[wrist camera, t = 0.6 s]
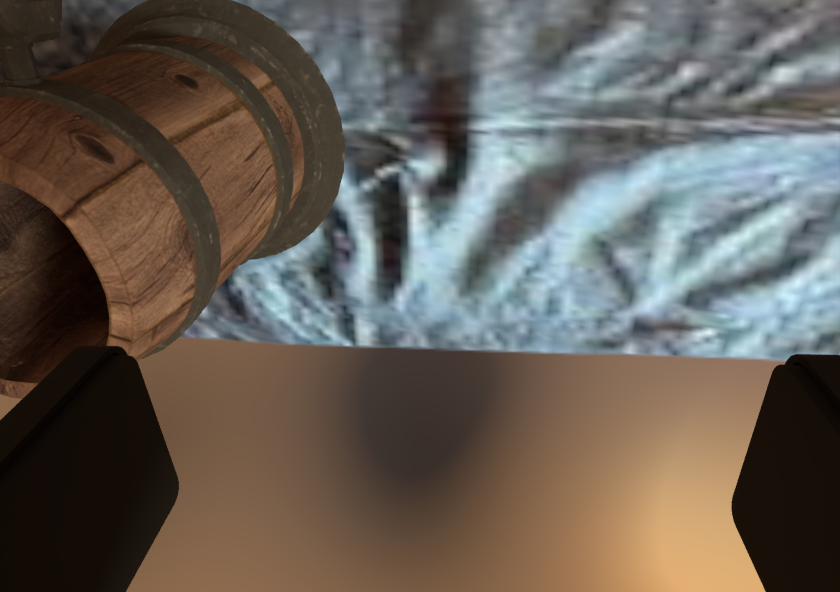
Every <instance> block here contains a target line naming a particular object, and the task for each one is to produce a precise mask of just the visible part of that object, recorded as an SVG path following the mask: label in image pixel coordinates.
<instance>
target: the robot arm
mask: <svg viewBox="0 0 840 592" xmlns="http://www.w3.org/2000/svg"><path fill="white" fill-rule="evenodd" d="M178 490H179V481H178V477H177V474H176V471H175V468H174V465H173V463H172V460H171V457H170V454H169V451H168V448H167V445H166V443H165V440H164V437H163V434H162V431H161V428H160V425H159V422H158V420H157V417H156V414H155V411H154V408H153V405H152V402H151V399H150V397H149V394H148V391H147V388H146V386H145V382H144V379H143V377H142V374H141V371H140V368H139V365H138V363H137V361H136V359H135V358H134V357H133V356H129V355H128V354H127V352H126V351H125V350H124V349H123V348H122V347H119V346H91V345H84V346H79V347H77V348H76V349H74V350H73V351H72V352H71V353H70V354H69V355H67V356H66V357H65V358H64V359H63V360H62V361H61V362H60V363H59V364H58V365H57V366H56V367H55V368H54V369H53V370H52V371H51V372H50V373H49V374H48V375H47V376H46V377H45V378H44V379H43V380H42V381H41V382H40V383H39V384H37V385H36V386H35V387H34V388H33V389H32V390H31V391H30V392H29V393H28V394H27V395H26V396H25V397H24V398H23V399H22V400H21V401H20V402H19V403H18V404H17V405H16V406H15V407H14V408H13V409H12V410H11V411H10V412H9V413H7V415H5V416H4V418H2V419H1V420H0V592H126V590H127V589H128V587H129V585H130V583H131V581H132V579H133V578H134V576H135V574H136V572H137V570H138V568H139V567H140V565H141V563H142V561H143V560H144V558H145V556H146V554H147V552H148V551H149V549H150V547H151V545H152V543H153V542H154V540H155V538H156V536H157V534H158V533H159V531H160V529H161V527H162V525H163V524H164V522H165V520H166V518H167V516H168V514H169V513H170V511H171V509H172V507H173V506H174V504H175V501H176V499H177V495H178ZM732 515H733V519H734V523H735V525H736V528H737V530H738V532H739V534H740V536H741V539H742V541H743V543H744V545H745V547H746V550H747V552H748V554H749V556H750V558H751V560H752V563H753V564H754V567H755V569H756V571H757V574H758V576H759V578H760V580H761V582H762V584H763V586H764V589H765V591H766V592H840V355H811V354H796V355H793V356H791V357H790V358H789V359H788V360H787V361H786V363H785V365H778V366H776V367H775V368H774V370H773V372H772V375H771V378H770V381H769V384H768V387H767V390H766V394H765V397H764V400H763V403H762V406H761V410H760V412H759V416H758V419H757V422H756V425H755V428H754V432H753V434H752V438H751V441H750V444H749V447H748V450H747V453H746V456H745V460H744V463H743V466H742V469H741V472H740V475H739V479H738V482H737V485H736V488H735V491H734V494H733V498H732Z"/></svg>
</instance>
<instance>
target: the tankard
mask: <svg viewBox="0 0 840 592" xmlns="http://www.w3.org/2000/svg"><path fill="white" fill-rule="evenodd" d="M61 20H62V0H0V59H1V62H2V65H3V68H4V71H5V75H6V78H7V79H5V82H3V83H0V394H2V395H5V396H9V397H13V398H21V399H23V398H24V397H25V396H26V395H27V394H28V393H29V392H30V391H31V390H32V389H33V388H34V387H35V386H36V385H37V384H39V383H40V382H41V381H42V380H43V379H44V378H45V377H46V376H47V375H48V374H49V373H50V372H51V371H52V370H53V369H54V368H55V367H56V366H57V365H58V364H59V363H60V362H61V361H62V360H63V359H64V358H65V357H66V356H67V355H69V354H70V353H71V352H72V351H73V350H74V349H76V348H77V347H79V346H84V345H91V346H119V347H122V348H123V349H124V350H125V351H126V352H127V354H128V355H129V356H133V357H134V358H135V359H136V361H138V360H139V359H143V358H145V357H148V356H150V355H152V354H154V353H157V352H159V351H161V350H163V349H165V348H166V347H167V346H169V345H170V344H171V343H172V342H174V341H175V340H176V339H178V338H179V337H180V336H181V335H182V334H183V333H184V332H185V331H186V330H187V329H188V328H189V326H190V325H191V324H192V323H193V322H194V321H195V320H196V319H197V318H198V316H199V315H200V314H201V312H202V311H203V310H204V308H205V307H206V306H207V304H208V303H209V302H210V299H211V297H212V294H213V293H214V292H215V291H216V290H217V289H218V288H219V286H220V285H221V284H222V283H223V282H224V281H225V280H226V279H227V278H228V277H229V276H230V275H231V274H232V273H233V271H234V270H235V269H236V268H237V267H238V266H239V265H241V264H243V263H245V262H247V261H248V260H251V259H259V258H263V257H267V256H271V255H276V254H278V253H281V252H283V251H285V250H287V249H289V248H291V247H293V246H295V245H297V244H298V243H300V242H301V241H302V240H303V239H305V238H306V237H307V236H309V235H310V234H311V233H312V232H314V230H315V229H316V228H317V227H318V226H319V224H320V223H321V222H322V221H323V219H324V218H325V217H326V216H327V214H328V212H329V210H330V208H331V206H332V204H333V202H334V201H335V199H336V197H337V195H338V191H339V187H340V183H341V179H342V175H343V171H344V152H345V144H344V137H343V130H342V123H341V118H340V115H339V112H338V109H337V106H336V103H335V100H334V97H333V95H332V92H331V90H330V88H329V86H328V84H327V83H326V81H325V79H324V77H323V76H322V74H321V72H320V70H319V68H318V67H317V65H316V64H315V63H314V61H313V60H312V59H311V58H310V56H309V55H308V54H307V53H306V52H305V50H304V49H303V48H302V47H301V45H300V44H299V43H298V42H297V41H296V40H295V39H294V38H293V37H291V36H290V35H289V34H288V33H287V32H286V31H284V30H283V29H282V28H281V27H280V26H279V25H277V24H276V23H275V22H274V21H272V20H270V19H269V18H267V17H265V16H264V15H262V14H260V13H259V12H257V11H255V10H253V9H252V8H250V7H248V6H246V5H243V4H240V3H237V2H234V1H231V0H149V1H146V2H144V3H141V4H138V5H137V6H135V7H134V8H133V9H131V10H130V11H128V12H127V13H125V14H124V15H122V16H121V17H119V18H118V19H117V20H116V21H115V22H114V24H113V25H112V26H111V27H110V28H109V29H108V30H107V32H106V33H105V34H104V35H103V36H102V37H101V39H100V41H99V43H98V45H97V47H96V49H95V51H94V53H93V55H92V57H91V58H89V59H88V60H86V61H85V62H83V63H82V64H80V65H79V66H77V67H73V68H70V69H67V70H64V71H61V72H58V73H55V74H51V75H48V76H45V77H41V76H39V73H38V70H37V66H36V63H35V59H34V56H33V52H32V49H31V46H33V44H32V43H33V42H39V41H46V40H52V39H55V38H56V37H57V36H58V35H59V34H60V33H61V28H60V24H59V23H60V22H61Z"/></svg>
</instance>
